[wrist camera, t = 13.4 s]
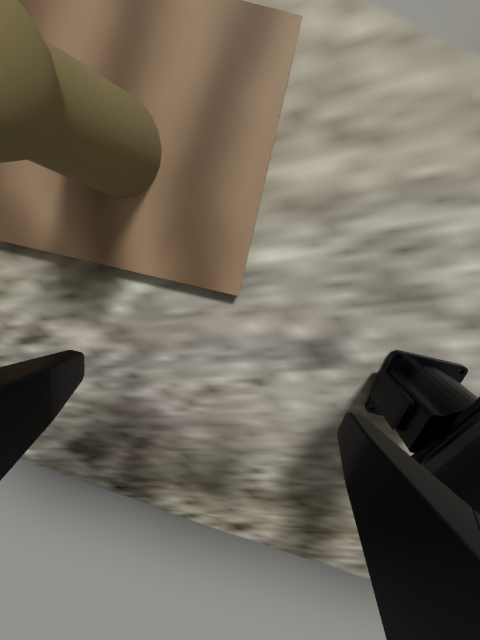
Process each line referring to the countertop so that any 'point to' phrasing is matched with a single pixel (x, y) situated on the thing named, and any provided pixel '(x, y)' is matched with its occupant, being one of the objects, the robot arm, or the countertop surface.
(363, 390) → the countertop surface
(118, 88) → the cork
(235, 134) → the walnut board
